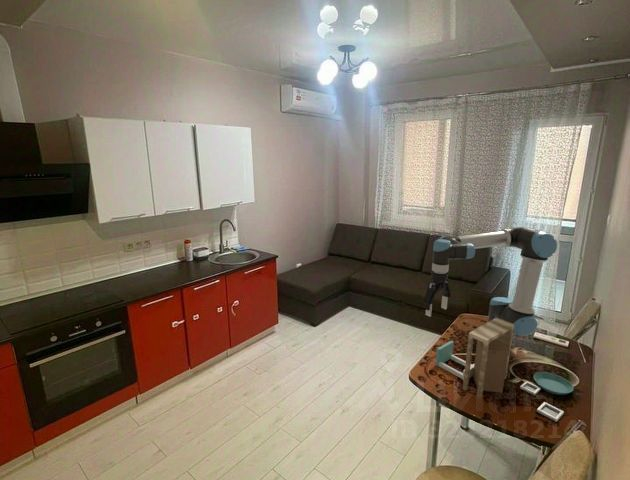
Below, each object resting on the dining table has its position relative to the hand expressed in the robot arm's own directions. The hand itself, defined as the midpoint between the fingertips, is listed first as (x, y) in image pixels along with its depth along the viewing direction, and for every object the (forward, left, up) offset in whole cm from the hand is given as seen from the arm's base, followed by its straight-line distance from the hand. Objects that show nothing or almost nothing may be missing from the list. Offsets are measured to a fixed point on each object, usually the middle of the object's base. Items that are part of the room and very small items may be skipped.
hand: (436, 312), depth 170 cm
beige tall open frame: (0, +28, -25) cm, 37 cm away
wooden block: (0, +29, -25) cm, 38 cm away
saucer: (-22, +47, -25) cm, 57 cm away
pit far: (-3, +53, -25) cm, 58 cm away
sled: (0, +14, -24) cm, 28 cm away
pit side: (-12, +42, -25) cm, 50 cm away
